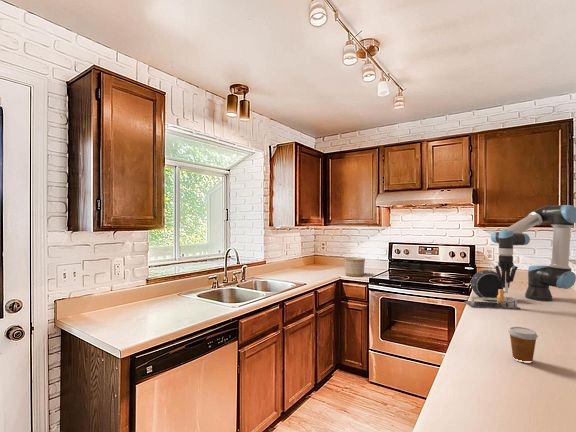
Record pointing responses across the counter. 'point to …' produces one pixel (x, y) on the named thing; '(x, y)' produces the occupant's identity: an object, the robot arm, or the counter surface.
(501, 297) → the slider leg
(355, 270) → the planter
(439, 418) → the counter surface
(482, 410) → the counter surface
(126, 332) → the counter surface
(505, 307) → the bolt plate
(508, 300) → the grey slide rail
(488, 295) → the studded round pot
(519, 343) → the disposable coffee cup
